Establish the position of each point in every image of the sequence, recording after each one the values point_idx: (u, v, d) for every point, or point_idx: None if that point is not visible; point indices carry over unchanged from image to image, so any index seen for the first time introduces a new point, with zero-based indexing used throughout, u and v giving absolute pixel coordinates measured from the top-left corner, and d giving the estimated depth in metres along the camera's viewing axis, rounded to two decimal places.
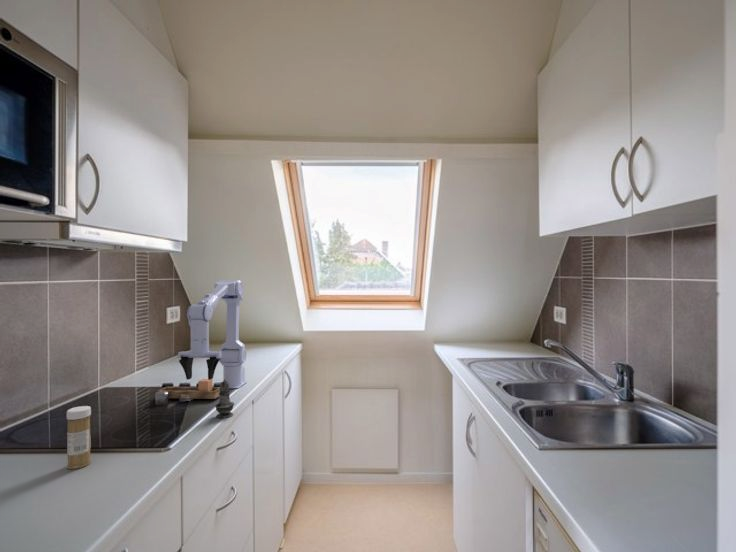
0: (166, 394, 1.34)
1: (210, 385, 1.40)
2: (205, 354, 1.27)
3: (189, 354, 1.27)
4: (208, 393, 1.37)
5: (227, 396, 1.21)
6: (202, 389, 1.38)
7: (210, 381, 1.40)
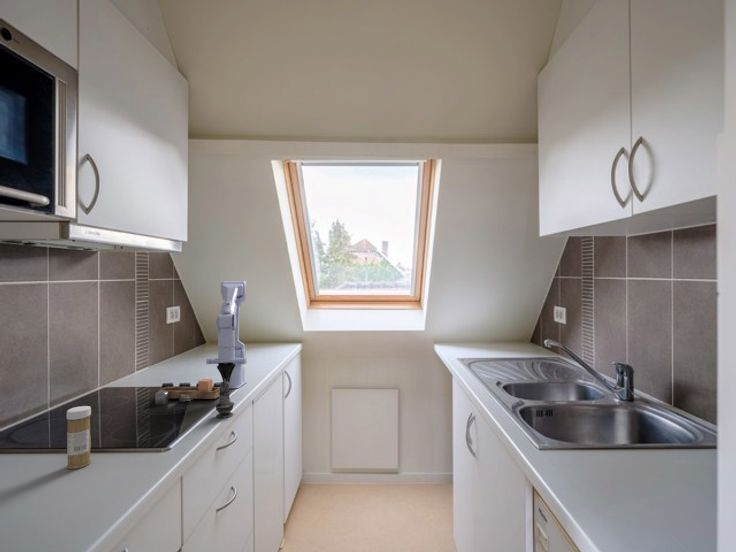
0: (166, 394, 1.34)
1: (210, 385, 1.40)
2: (232, 360, 1.37)
3: (217, 360, 1.37)
4: (208, 393, 1.37)
5: (227, 396, 1.21)
6: (202, 389, 1.38)
7: (210, 381, 1.40)
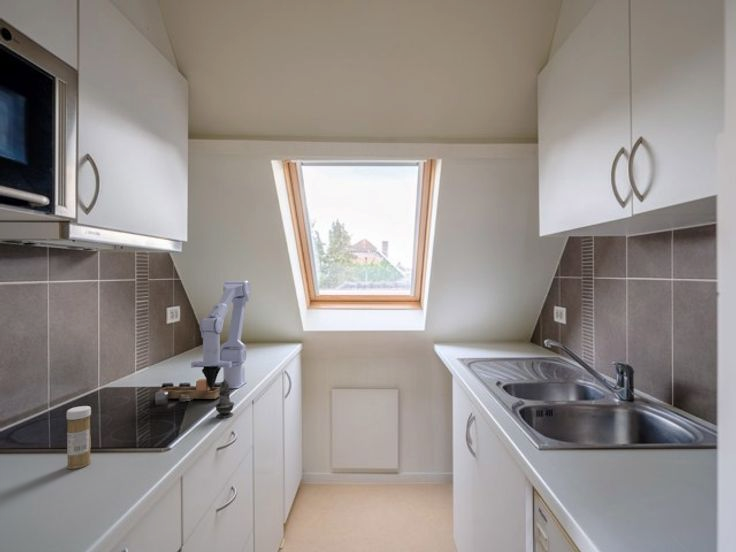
0: (166, 394, 1.34)
1: None
2: (217, 364, 1.37)
3: (202, 364, 1.38)
4: (208, 393, 1.37)
5: (227, 396, 1.21)
6: (200, 389, 1.38)
7: None
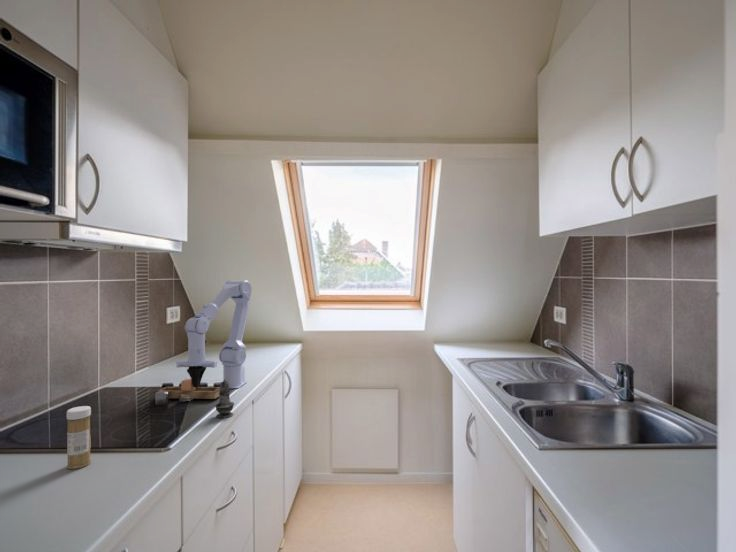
0: (166, 394, 1.34)
1: None
2: (201, 364, 1.38)
3: (187, 364, 1.38)
4: (208, 393, 1.37)
5: (227, 396, 1.21)
6: (185, 389, 1.38)
7: None
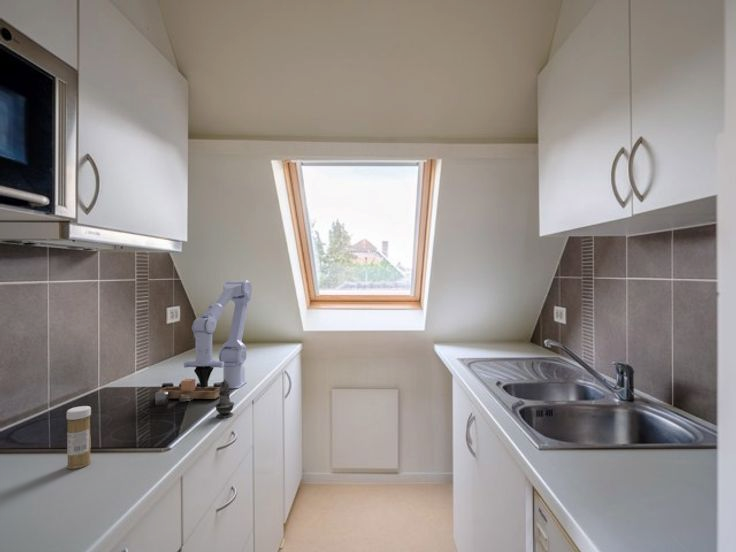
0: (166, 394, 1.34)
1: (193, 385, 1.40)
2: (209, 364, 1.38)
3: (194, 364, 1.38)
4: (208, 393, 1.37)
5: (227, 396, 1.21)
6: (185, 389, 1.38)
7: (193, 381, 1.40)
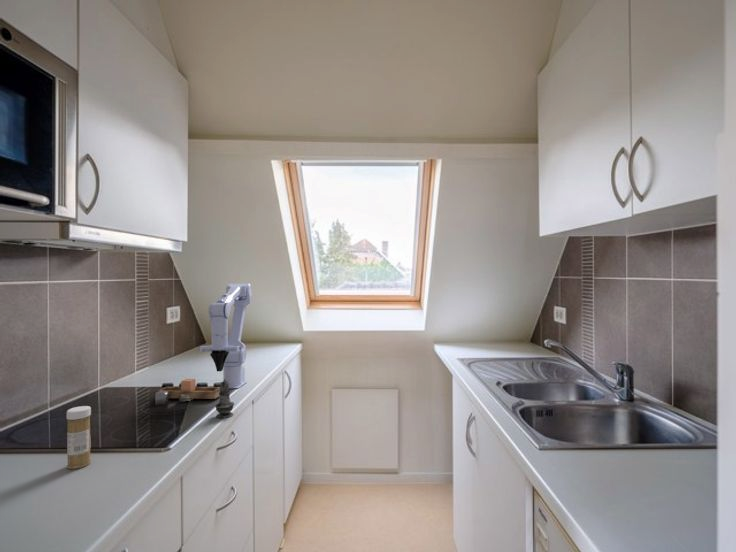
0: (166, 394, 1.34)
1: (193, 385, 1.40)
2: (225, 348, 1.39)
3: (210, 348, 1.40)
4: (208, 393, 1.37)
5: (227, 396, 1.21)
6: (185, 389, 1.38)
7: (193, 381, 1.40)
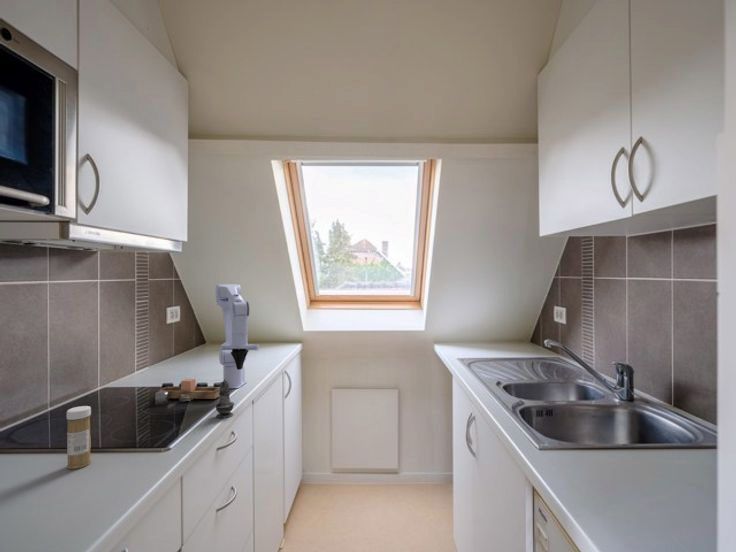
0: (166, 394, 1.34)
1: (193, 385, 1.40)
2: (245, 346, 1.42)
3: (231, 346, 1.42)
4: (208, 393, 1.37)
5: (227, 396, 1.21)
6: (185, 389, 1.38)
7: (193, 381, 1.40)
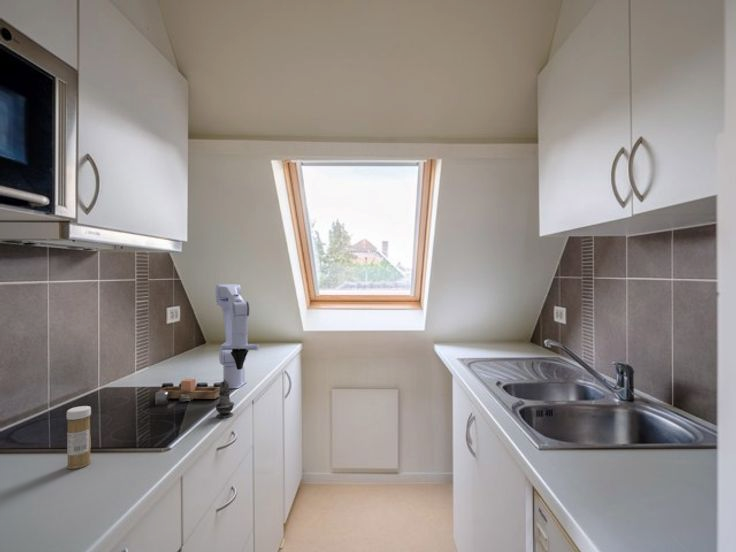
0: (166, 394, 1.34)
1: (193, 385, 1.40)
2: (245, 346, 1.42)
3: (231, 346, 1.42)
4: (208, 393, 1.37)
5: (227, 396, 1.21)
6: (185, 389, 1.38)
7: (193, 381, 1.40)
